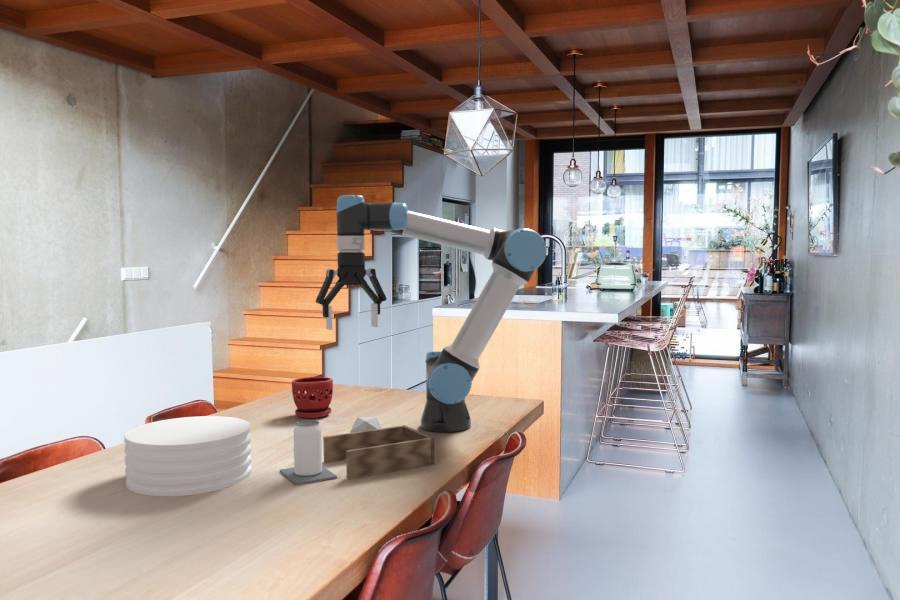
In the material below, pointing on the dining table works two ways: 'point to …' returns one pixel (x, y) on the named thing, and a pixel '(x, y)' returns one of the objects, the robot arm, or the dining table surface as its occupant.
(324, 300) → the robot arm
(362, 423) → the die
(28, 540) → the dining table surface
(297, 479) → the slate mat
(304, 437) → the can
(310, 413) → the plant pot
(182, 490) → the plate stack
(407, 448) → the walnut u-shaped enclosure
